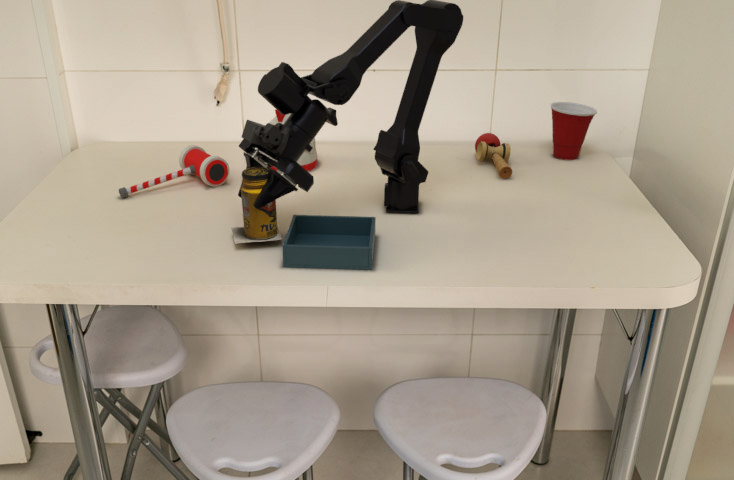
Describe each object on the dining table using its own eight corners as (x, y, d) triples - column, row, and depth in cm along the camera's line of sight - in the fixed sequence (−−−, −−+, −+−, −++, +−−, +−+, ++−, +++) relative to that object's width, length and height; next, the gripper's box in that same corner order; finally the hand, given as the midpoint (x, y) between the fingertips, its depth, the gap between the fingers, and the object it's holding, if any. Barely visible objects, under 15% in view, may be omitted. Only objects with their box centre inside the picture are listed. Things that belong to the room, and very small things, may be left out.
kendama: (524, 183, 175) (501, 148, 189) (523, 157, 171) (500, 124, 185) (490, 190, 175) (469, 155, 189) (489, 165, 171) (468, 131, 185)
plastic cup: (594, 163, 183) (603, 112, 177) (548, 163, 183) (555, 111, 177) (583, 150, 192) (591, 100, 186) (539, 149, 192) (545, 100, 186)
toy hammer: (133, 206, 158) (128, 176, 155) (110, 190, 166) (105, 161, 163) (231, 183, 170) (229, 155, 167) (205, 169, 178) (202, 142, 175)
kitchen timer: (247, 169, 179) (242, 102, 171) (274, 152, 190) (271, 89, 182) (301, 177, 174) (299, 109, 167) (327, 159, 185) (326, 95, 178)
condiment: (282, 240, 140) (278, 175, 134) (234, 244, 139) (228, 179, 133) (276, 225, 146) (272, 162, 140) (231, 229, 145) (225, 166, 139)
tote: (375, 237, 145) (375, 216, 143) (371, 269, 133) (372, 248, 131) (294, 234, 146) (293, 214, 144) (283, 267, 134) (282, 245, 132)
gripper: (244, 91, 139) (193, 162, 140) (294, 114, 125) (237, 193, 126) (285, 128, 146) (237, 196, 147) (337, 154, 133) (283, 228, 134)
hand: (247, 202), depth 138 cm, fingers closed on condiment, 6 cm apart
